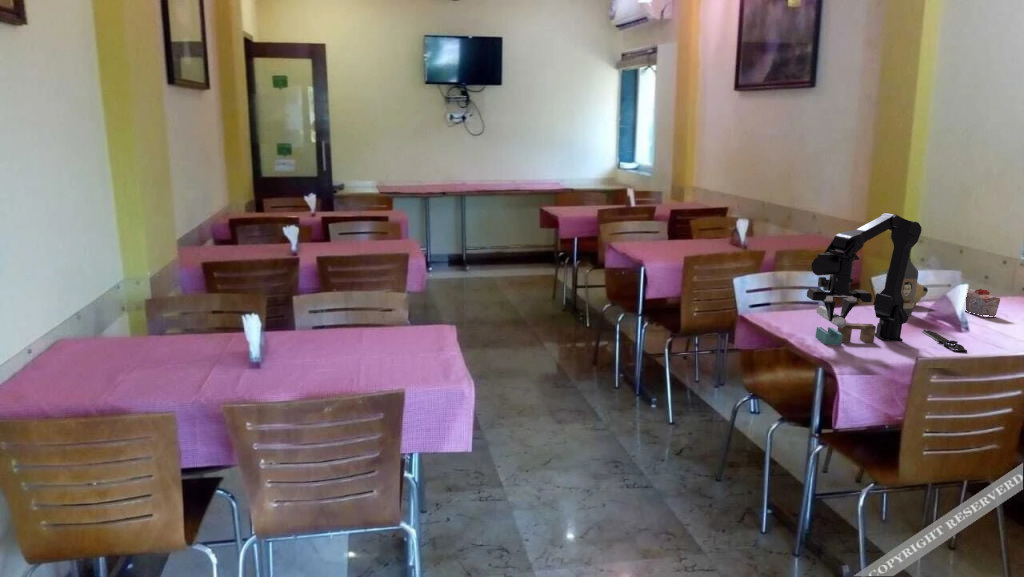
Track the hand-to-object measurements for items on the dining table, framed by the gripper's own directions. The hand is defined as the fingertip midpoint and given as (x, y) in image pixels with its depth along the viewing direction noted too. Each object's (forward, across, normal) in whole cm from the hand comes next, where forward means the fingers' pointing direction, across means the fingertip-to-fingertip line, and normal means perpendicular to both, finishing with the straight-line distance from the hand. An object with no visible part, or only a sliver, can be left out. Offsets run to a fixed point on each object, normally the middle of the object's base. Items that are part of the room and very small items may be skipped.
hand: (835, 321), depth 246 cm
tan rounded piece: (+8, -53, -57) cm, 79 cm away
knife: (+8, -40, -8) cm, 41 cm away
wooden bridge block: (+8, -9, -5) cm, 13 cm away
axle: (+1, 0, -4) cm, 4 cm away
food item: (+8, -75, -46) cm, 88 cm away
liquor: (+8, -42, -44) cm, 62 cm away
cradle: (+8, 0, -4) cm, 8 cm away
